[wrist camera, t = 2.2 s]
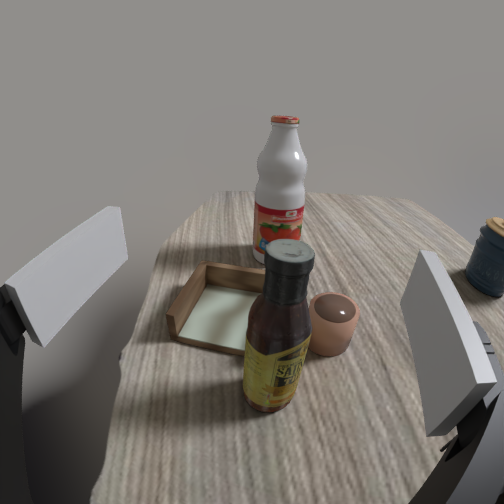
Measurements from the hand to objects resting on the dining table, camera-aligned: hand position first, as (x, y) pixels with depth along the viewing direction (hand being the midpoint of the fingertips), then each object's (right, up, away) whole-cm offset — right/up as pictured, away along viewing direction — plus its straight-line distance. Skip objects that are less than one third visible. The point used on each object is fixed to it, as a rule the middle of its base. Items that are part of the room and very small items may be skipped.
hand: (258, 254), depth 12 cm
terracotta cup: (+11, -13, +29) cm, 33 cm away
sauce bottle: (+2, -17, +21) cm, 27 cm away
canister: (+56, -7, +42) cm, 70 cm away
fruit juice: (+4, -1, +49) cm, 49 cm away
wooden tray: (-3, -10, +32) cm, 34 cm away
